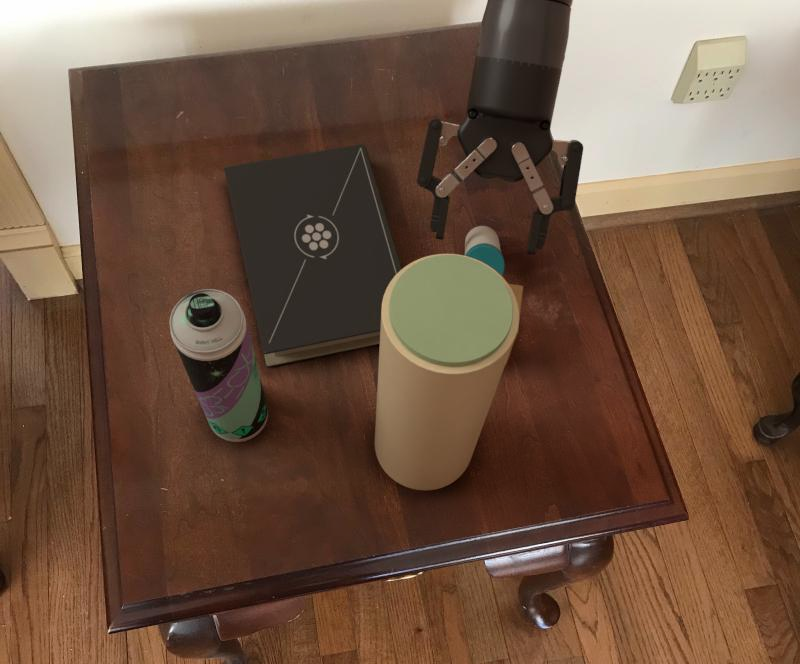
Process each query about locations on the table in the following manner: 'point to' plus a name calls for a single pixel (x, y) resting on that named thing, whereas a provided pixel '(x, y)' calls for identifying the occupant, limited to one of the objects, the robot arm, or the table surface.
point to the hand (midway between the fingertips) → (485, 245)
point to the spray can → (220, 363)
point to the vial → (485, 247)
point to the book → (313, 251)
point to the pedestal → (431, 405)
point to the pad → (450, 310)
